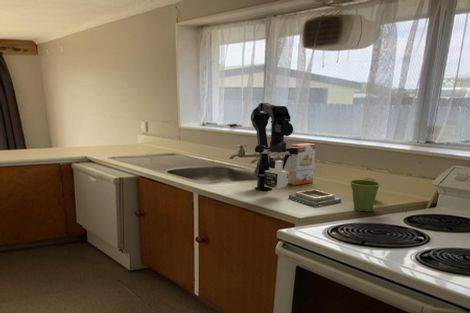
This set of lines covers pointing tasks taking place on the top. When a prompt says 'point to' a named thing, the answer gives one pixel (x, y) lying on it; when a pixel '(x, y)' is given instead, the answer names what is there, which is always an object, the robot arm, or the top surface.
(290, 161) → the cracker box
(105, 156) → the top surface
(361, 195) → the plant pot
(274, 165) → the medicine bottle
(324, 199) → the picture frame
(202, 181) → the top surface
